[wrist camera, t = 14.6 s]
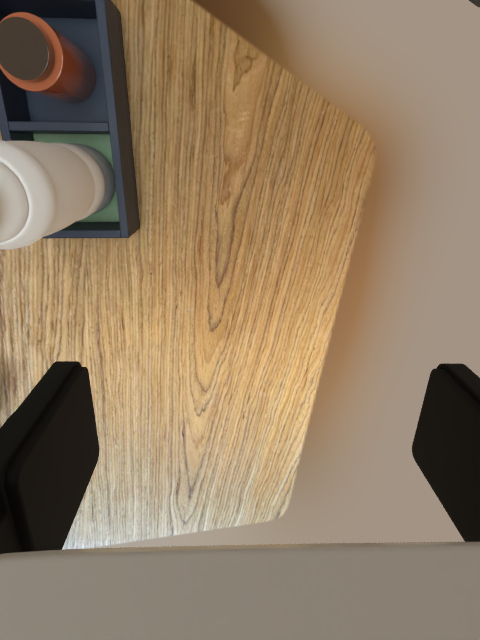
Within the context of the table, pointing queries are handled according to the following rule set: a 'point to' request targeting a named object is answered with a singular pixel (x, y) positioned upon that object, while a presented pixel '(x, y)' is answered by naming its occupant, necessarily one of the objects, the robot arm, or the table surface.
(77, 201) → the water bottle
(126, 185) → the divided storage box
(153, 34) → the table surface
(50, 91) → the spice jar
